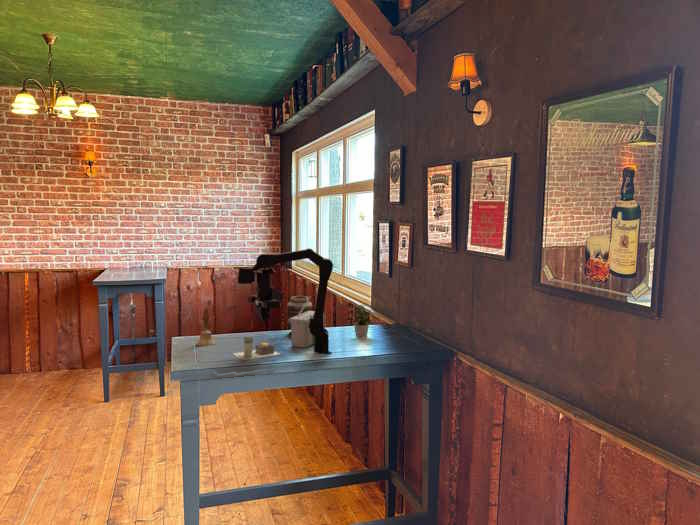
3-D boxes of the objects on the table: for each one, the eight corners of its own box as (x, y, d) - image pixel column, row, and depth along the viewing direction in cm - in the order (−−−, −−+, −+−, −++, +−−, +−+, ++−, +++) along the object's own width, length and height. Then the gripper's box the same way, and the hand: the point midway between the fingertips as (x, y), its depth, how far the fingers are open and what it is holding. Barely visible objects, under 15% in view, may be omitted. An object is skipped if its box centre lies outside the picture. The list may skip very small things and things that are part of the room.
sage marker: (253, 356, 207) (254, 337, 206) (246, 357, 205) (246, 338, 204) (250, 354, 210) (250, 336, 209) (242, 355, 207) (242, 337, 207)
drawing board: (280, 356, 212) (280, 353, 211) (243, 361, 202) (243, 359, 202) (268, 350, 220) (268, 347, 220) (232, 355, 211) (232, 353, 211)
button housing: (274, 352, 213) (274, 345, 213) (261, 354, 210) (261, 347, 210) (268, 349, 218) (268, 342, 218) (255, 351, 215) (255, 344, 214)
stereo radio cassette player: (305, 350, 221) (306, 303, 219) (288, 348, 224) (288, 302, 222) (324, 339, 241) (325, 296, 239) (308, 338, 244) (309, 295, 242)
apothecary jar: (283, 335, 248) (283, 298, 246) (292, 330, 259) (292, 294, 258) (307, 337, 245) (307, 299, 243) (315, 331, 256) (315, 295, 255)
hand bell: (208, 340, 235) (207, 306, 234) (219, 343, 230) (219, 308, 229) (192, 344, 229) (191, 308, 228) (203, 347, 224) (203, 310, 222)
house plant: (339, 334, 251) (340, 301, 250) (365, 332, 257) (365, 299, 256) (352, 341, 238) (352, 305, 237) (378, 338, 244) (379, 304, 243)
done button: (270, 349, 213) (270, 344, 213) (262, 350, 211) (262, 345, 211) (266, 347, 216) (266, 342, 216) (258, 348, 214) (258, 343, 214)
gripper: (292, 286, 210) (292, 324, 211) (271, 280, 225) (271, 316, 226) (267, 287, 203) (267, 327, 205) (247, 282, 219) (247, 319, 220)
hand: (263, 322), depth 214 cm, fingers closed
